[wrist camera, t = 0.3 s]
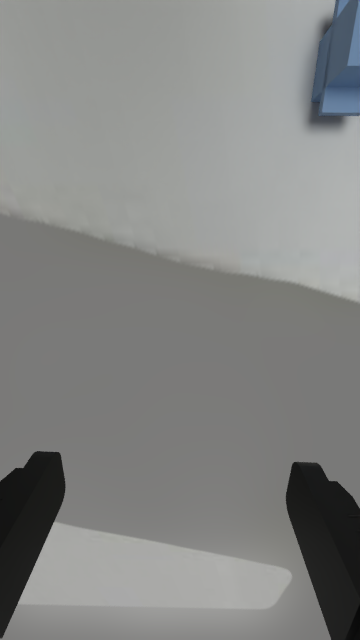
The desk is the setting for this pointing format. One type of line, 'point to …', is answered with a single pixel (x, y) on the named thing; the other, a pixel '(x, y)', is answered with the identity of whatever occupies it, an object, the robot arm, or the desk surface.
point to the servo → (339, 63)
